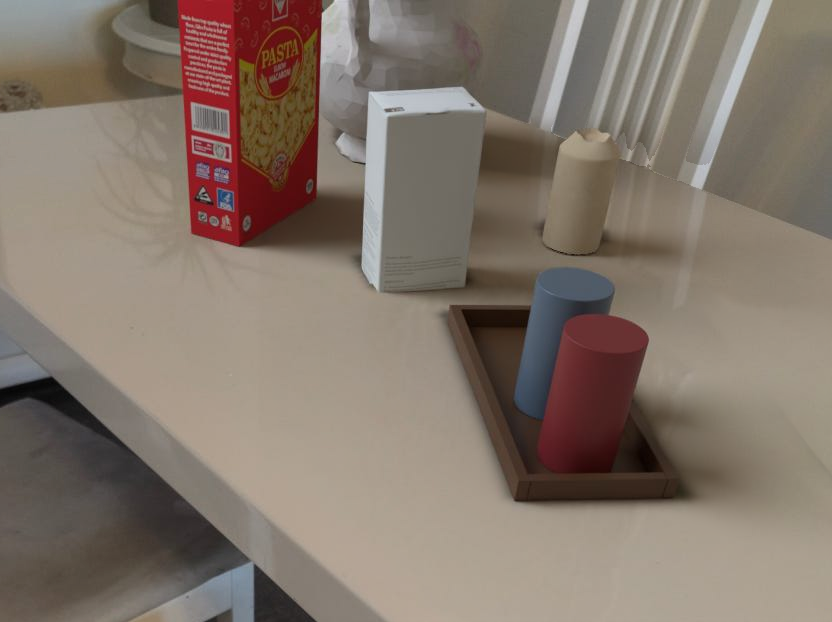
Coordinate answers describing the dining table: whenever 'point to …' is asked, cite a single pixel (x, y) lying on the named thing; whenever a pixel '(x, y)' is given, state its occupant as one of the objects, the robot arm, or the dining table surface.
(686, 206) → the dining table surface
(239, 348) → the dining table surface
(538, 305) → the slate candle
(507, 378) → the tray
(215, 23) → the food packaging
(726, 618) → the dining table surface
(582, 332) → the burgundy candle
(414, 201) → the cosmetic box
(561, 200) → the candle
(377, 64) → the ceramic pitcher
